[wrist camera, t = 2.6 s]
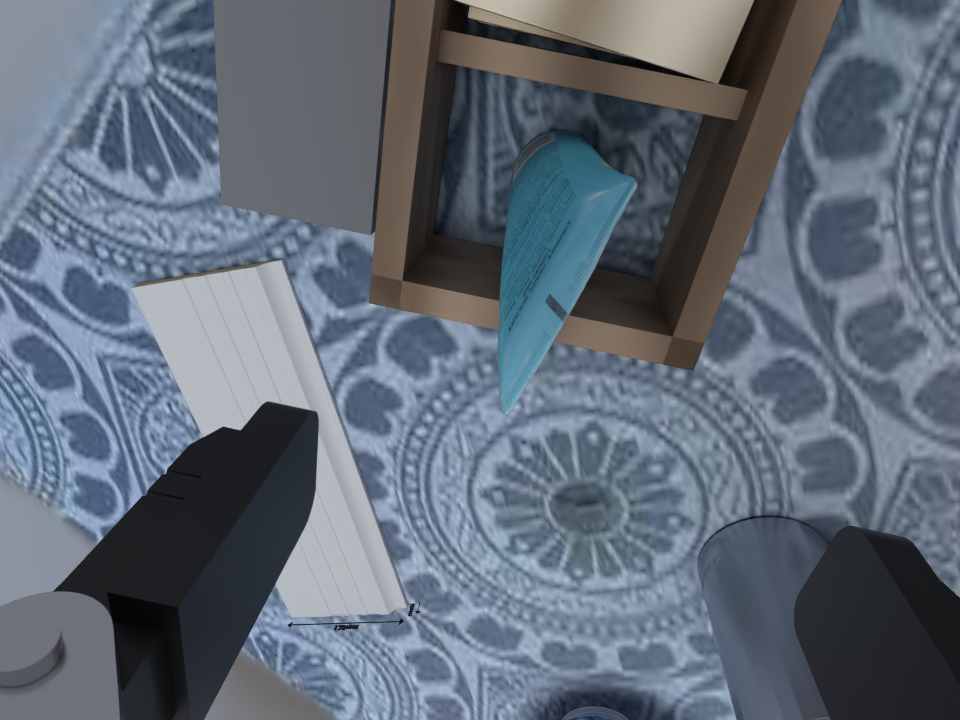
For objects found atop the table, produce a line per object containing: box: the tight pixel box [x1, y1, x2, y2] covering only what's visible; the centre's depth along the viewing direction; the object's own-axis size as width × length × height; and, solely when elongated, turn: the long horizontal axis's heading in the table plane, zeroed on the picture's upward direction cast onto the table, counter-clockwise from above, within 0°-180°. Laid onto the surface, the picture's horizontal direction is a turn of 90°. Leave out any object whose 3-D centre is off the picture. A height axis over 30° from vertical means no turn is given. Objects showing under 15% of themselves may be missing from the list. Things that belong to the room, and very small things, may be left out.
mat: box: [213, 0, 396, 235], centre depth 32 cm, size 9×12×1 cm
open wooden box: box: [369, 0, 842, 371], centre depth 27 cm, size 16×20×8 cm
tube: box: [498, 130, 638, 415], centre depth 24 cm, size 7×5×19 cm, turn 161°
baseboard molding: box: [131, 259, 420, 630], centre depth 44 cm, size 31×3×12 cm
